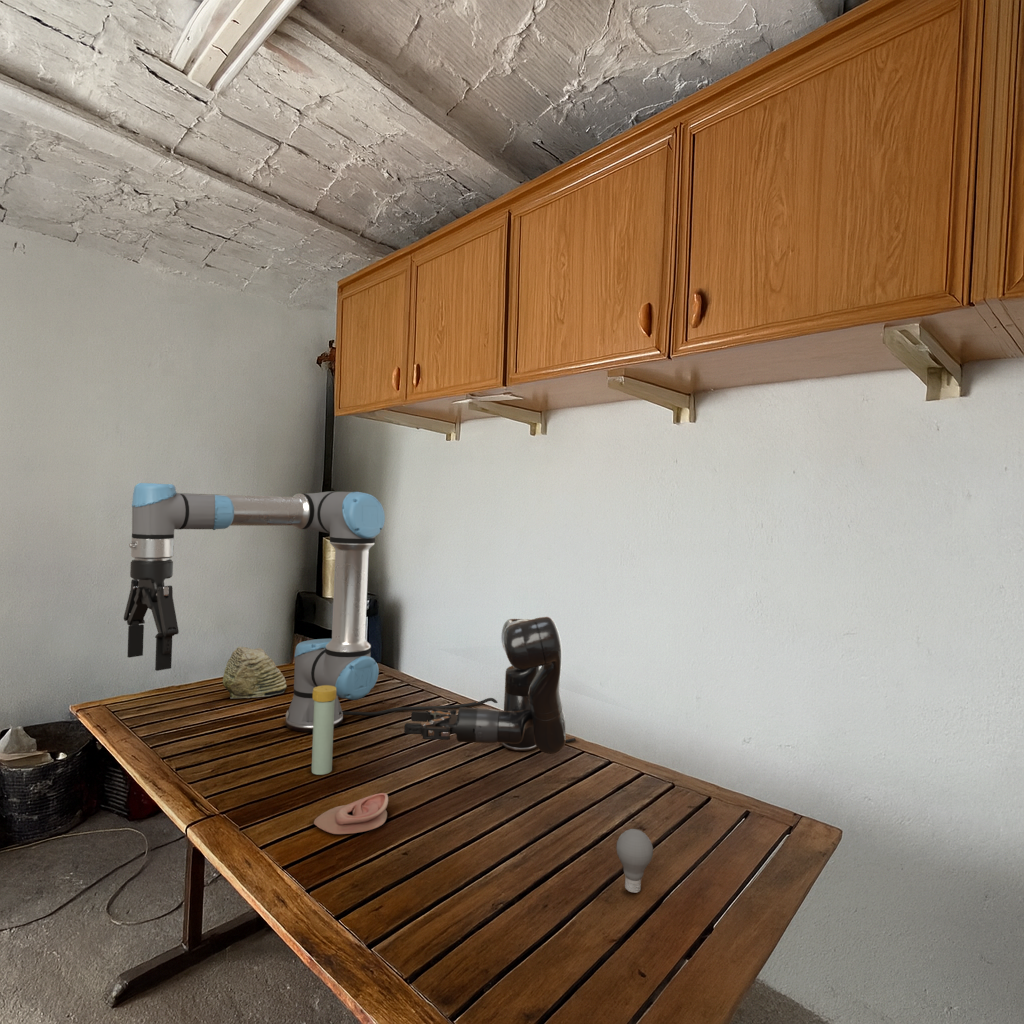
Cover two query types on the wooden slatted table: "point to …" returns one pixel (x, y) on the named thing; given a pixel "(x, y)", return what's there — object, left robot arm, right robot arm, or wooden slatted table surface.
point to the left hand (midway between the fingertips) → (148, 662)
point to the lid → (324, 693)
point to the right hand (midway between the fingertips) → (408, 721)
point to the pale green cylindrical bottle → (322, 737)
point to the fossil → (252, 674)
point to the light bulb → (634, 857)
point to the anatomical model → (355, 816)
